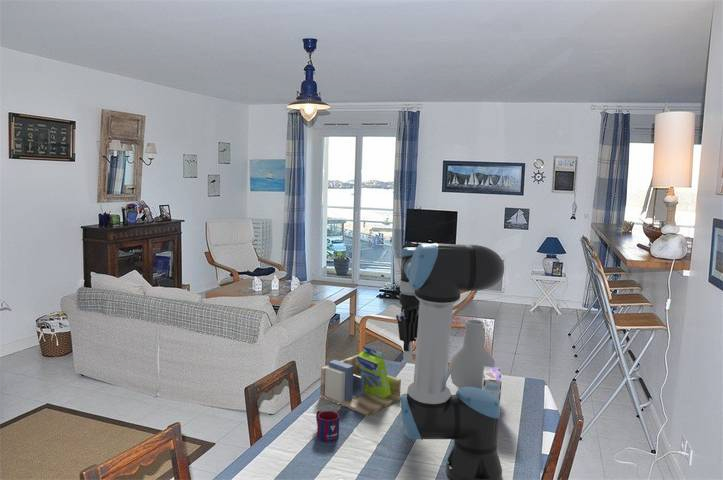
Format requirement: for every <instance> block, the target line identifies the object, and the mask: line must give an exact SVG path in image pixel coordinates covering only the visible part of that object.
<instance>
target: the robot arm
mask: <svg viewBox="0 0 723 480" xmlns="http://www.w3.org/2000/svg"><path fill="white" fill-rule="evenodd" d="M400 259H401V265H400V267H401V269H400V280H399V281H400V282H399V283H400V284H399V291H400V293H399V304H400V305H401V309H400V313H399V314H396V316H395V318H396V321H397V325H398V326H397V328H398V329H397V330H398V336H399V337H398V338H399V341H402V342H403V347H402V348H403V349H402V350H403V355H402V356H403V357H402V358H403V360H406V361H412V360H413V349H414V342H416V345H415V357H414V358H415V360H414V374H413V382H412V383H410V384H409V385H408V387H407V391H406V392H407V393H406V392H405V393H403V394H400V395H401V399H400V408H401V418H402V423H403V425H402V426H403V430H404V434H405V436H406V437H407V438H408V439H413V440H421V441H423V440H453V445H452V447H451V450H450V451H449V454H448V457H447V459H446V463H445V473H446V475H447V476H448V477H449V479H451V480H502V479H503V477H502V476H503V468H502V465H501V464H502V463H501V460H500V457H499V453H498V442H499V440H498V439H499V427H500V426H499V425H500V419H501V418H500V417H501V406H500V405H501V402H500V403H499V401H498V399H497V398H496V397H495V396H494V395H493V394H491V393H489V392H487V391H485V390H482V389H479V388H474V387H462V388H457V391H456V393H455V394H452V393H451V390H450V388H449V387H448V386H447V378H448V377H447V376H448V369H449V356H450V346H451V345H450V344H451V333H452V323H453V314H454V313H453V312H454V304H456V303H457V302H459V301H460V299H461V292H463V291H464V292H477V291H483V290H486V289H490V288H493V287H494V286H496V285H497V284H499V282H500V281H501V280H502V278H503V277H504V273H505V265H504V261H503V259H502V257H501V256H500V255H499V254H498V252H496V251H494V250H493V249H491V248H489V247H486V246H483V245H478V244H456V243H452V244H451V243H437V242H433V243H421V244H419V245H418V246H417V247H415V246H414V247H413V246H412V247H411V246H409V247H403V248H402V250H401V256H400Z"/></svg>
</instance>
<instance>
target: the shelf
mask: <svg viewBox="0 0 723 480" xmlns="http://www.w3.org/2000/svg"><path fill="white" fill-rule="evenodd" d="M357 355H358V354H356V355H353V356H351V357H348V358H345V359H342V360H339V361H340V362H343V363H346V364H349V365H352V366H353V374H354V375H357V376H360V377H361V373H360V368H359V363H358V359H357ZM328 366H329V364H328V365H325V366H322V367H320V396H321V397H320V398H322V397H324V398H326V399H325V400H327V399H328V400H327V401H329V400H331V401H330V402H332V401H334V402H336V403H335V404H337V403H339V404H341V405H340V406H342V405H344V406H346V407H348V408H347V409H349V408H350V410H351V409H353V410H352V411H354V410H355V411H354V412H356V411H357V413H359V412H360V413H359V414H361V413H362V415H364V416H367V417H368V416H369V415H371V414H374V413H376V412H378V411H380V410H382V409H385V408H386V407H388V406H390V405H392V404H394V403H396V402H398V401H401V395H402V394H401V387H402V386H401V385H402V384H401V383H402V380H401V378H398V377H394V376H391V375H390V374H387V376H388V381H389V386H390V390H391V394H390V395H389V396H387V397H386V398H385V399H384V398H381V397H379V396H377V395H374V394H372V393H370V392H367V391H365V395H363V396H360V397H358V398H356V399H355V398H352V399H350V400H347V401H345V400H344V401H342V402H340V401H338V400H335V399H333V398H330V397H328V396H325V367H328ZM324 398H323V399H324ZM334 402H333V403H334ZM339 404H338V405H339ZM344 406H343V407H344ZM346 407H345V408H346Z"/></svg>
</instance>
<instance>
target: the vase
mask: <svg viewBox="0 0 723 480" xmlns="http://www.w3.org/2000/svg"><path fill="white" fill-rule="evenodd" d="M484 325H485V322H484V321H482V320H478V319H466V320H465V325H464V326H465V329H464V336H463V341H462V345H460V347H459V348H457V349H456V350H455V351H454V352H453V353H452V354H451V355H450V359H449V364H448V369H449V374H450V375H449V376H450V379H451V382H452V384H453V385H454V386H455V387H456V388H457V389H459V388H462V387H474V388H479V389H482V375H483V366H490V367H496V366H495V360H494V357H492V355H491V354H490V353H489V352H488V351H487V349H486V348H485V343H484V340H485V339H484V329H485V327H484Z"/></svg>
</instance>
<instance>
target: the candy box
mask: <svg viewBox="0 0 723 480" xmlns="http://www.w3.org/2000/svg"><path fill="white" fill-rule="evenodd" d="M501 376H502V375H501V370H500V367H499V366H498V367H497V366H495V367H490V366H483V375H482V390H485V391H487V392H489V393H491V394H493V395H494V396H495V397H496V398H497V399H498V401H499V403H500V404H501V395H502V394H501V393H502V392H501V391H502V382H503V381H502V377H501Z"/></svg>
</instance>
